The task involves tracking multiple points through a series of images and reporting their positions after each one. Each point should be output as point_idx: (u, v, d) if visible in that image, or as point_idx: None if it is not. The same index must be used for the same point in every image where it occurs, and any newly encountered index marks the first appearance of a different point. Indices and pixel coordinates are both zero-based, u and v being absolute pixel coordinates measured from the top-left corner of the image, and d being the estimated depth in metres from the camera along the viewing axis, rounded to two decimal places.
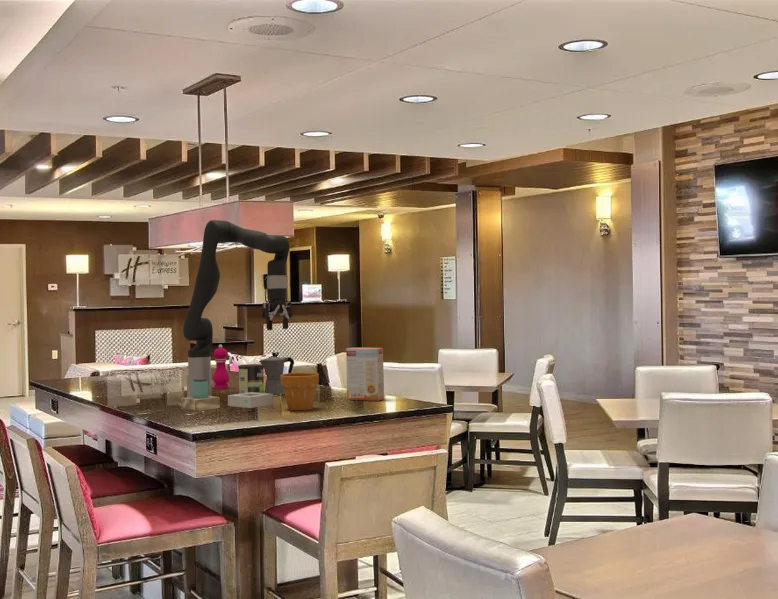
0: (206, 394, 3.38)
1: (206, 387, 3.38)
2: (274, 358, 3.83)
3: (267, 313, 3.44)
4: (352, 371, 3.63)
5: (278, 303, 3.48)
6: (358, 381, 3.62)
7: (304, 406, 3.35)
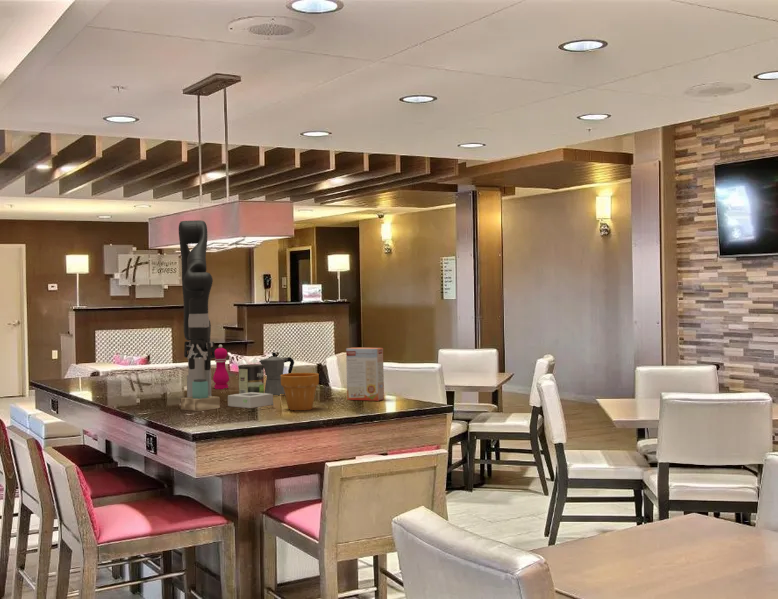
0: (206, 394, 3.38)
1: (206, 387, 3.38)
2: (274, 358, 3.83)
3: None
4: (352, 371, 3.63)
5: None
6: (358, 381, 3.62)
7: (304, 406, 3.35)
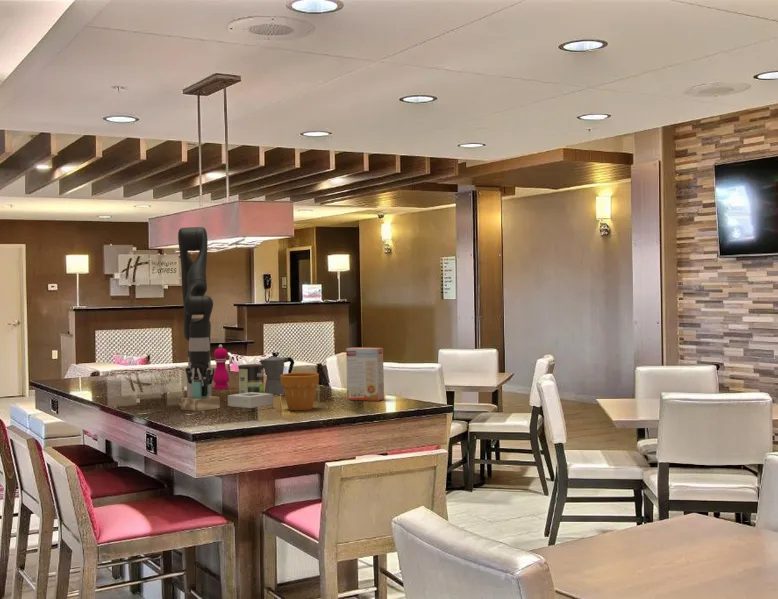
0: None
1: None
2: (274, 358, 3.83)
3: None
4: (352, 371, 3.63)
5: None
6: (358, 381, 3.62)
7: (304, 406, 3.35)
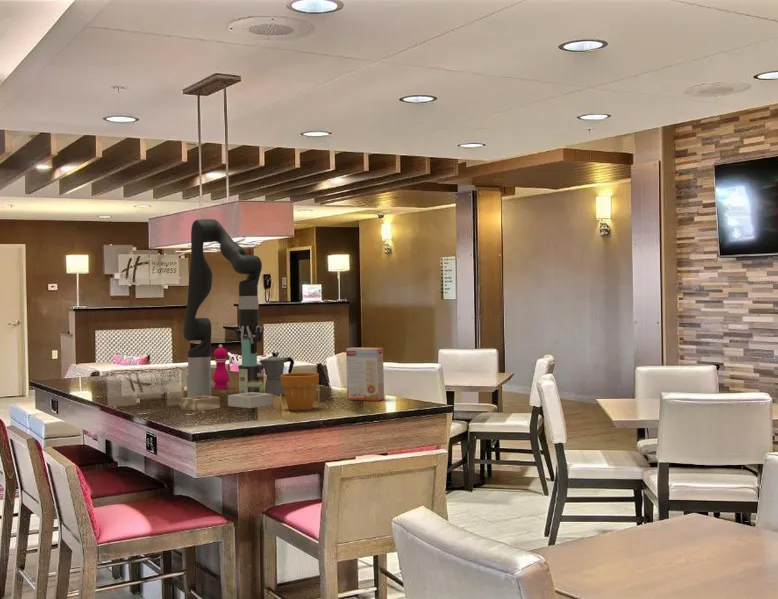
0: None
1: None
2: (274, 358, 3.83)
3: None
4: (352, 371, 3.63)
5: None
6: (358, 381, 3.62)
7: (304, 406, 3.35)
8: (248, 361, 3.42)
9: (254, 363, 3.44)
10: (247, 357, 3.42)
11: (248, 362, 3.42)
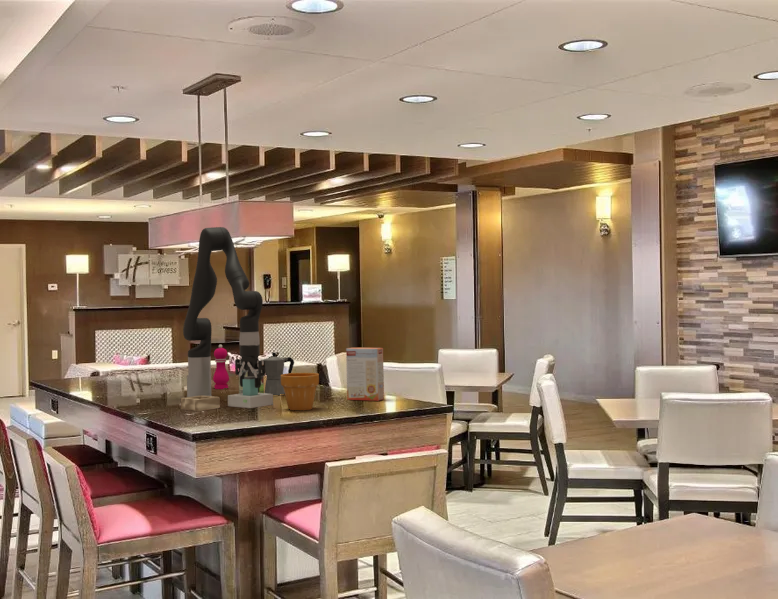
0: (256, 391, 3.45)
1: None
2: (274, 358, 3.83)
3: None
4: (352, 371, 3.63)
5: None
6: (358, 381, 3.62)
7: (304, 406, 3.35)
8: None
9: None
10: None
11: None
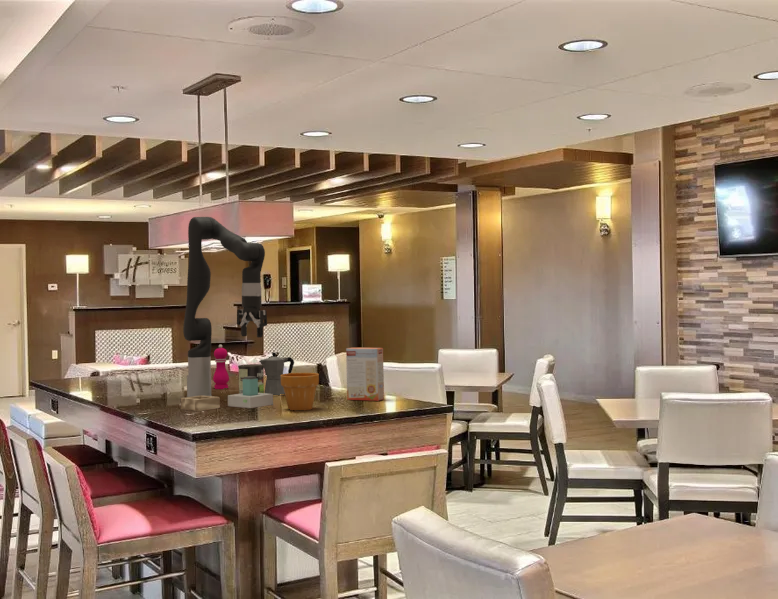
0: (256, 391, 3.45)
1: (256, 384, 3.45)
2: (274, 358, 3.83)
3: None
4: (352, 371, 3.63)
5: None
6: (358, 381, 3.62)
7: (304, 406, 3.35)
8: None
9: None
10: None
11: None
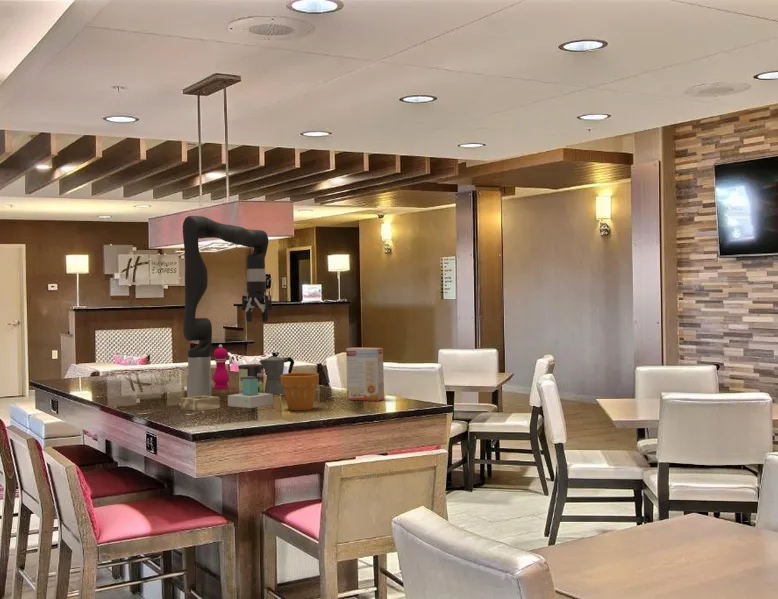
0: (256, 391, 3.45)
1: (256, 384, 3.45)
2: (274, 358, 3.83)
3: None
4: (352, 371, 3.63)
5: None
6: (358, 381, 3.62)
7: (304, 406, 3.35)
8: None
9: None
10: None
11: None
